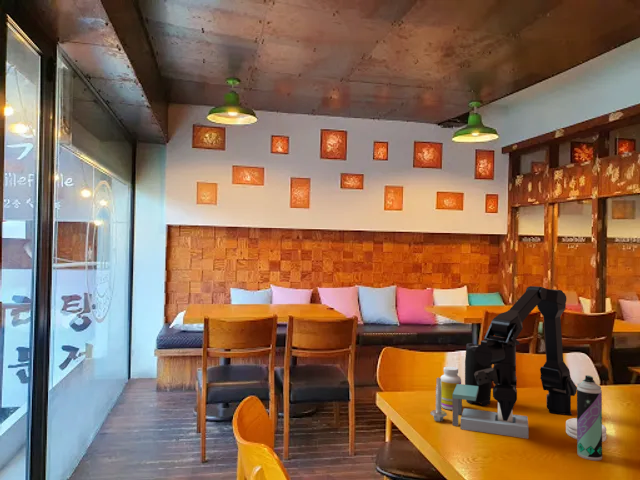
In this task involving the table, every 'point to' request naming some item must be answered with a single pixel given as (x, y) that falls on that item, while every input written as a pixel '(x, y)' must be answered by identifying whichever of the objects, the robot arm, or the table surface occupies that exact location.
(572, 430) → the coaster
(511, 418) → the peg
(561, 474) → the table surface
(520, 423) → the socket board
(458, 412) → the l-shaped bracket
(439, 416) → the screw
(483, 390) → the portable speaker
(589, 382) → the spray can
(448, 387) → the supplement bottle
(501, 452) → the table surface
